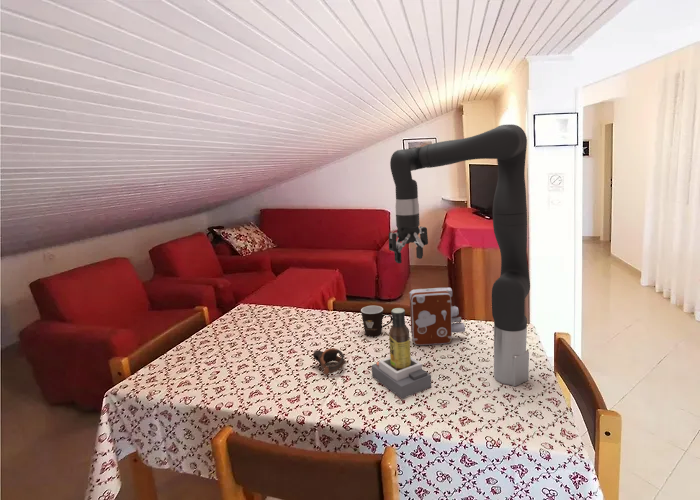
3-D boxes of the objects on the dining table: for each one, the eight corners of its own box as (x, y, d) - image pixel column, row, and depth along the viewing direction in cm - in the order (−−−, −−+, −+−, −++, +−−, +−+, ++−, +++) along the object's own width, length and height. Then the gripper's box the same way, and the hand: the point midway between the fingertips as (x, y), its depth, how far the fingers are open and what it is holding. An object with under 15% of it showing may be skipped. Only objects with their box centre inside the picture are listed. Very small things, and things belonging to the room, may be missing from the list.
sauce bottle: (391, 364, 143) (388, 305, 139) (411, 364, 142) (408, 305, 138) (390, 374, 137) (387, 313, 132) (410, 375, 136) (408, 313, 131)
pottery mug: (350, 363, 156) (350, 350, 150) (339, 386, 149) (338, 373, 143) (318, 352, 159) (317, 338, 153) (306, 374, 152) (305, 361, 147)
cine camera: (467, 344, 162) (467, 292, 157) (413, 347, 162) (411, 295, 158) (461, 334, 171) (461, 283, 166) (410, 337, 171) (408, 287, 167)
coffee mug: (357, 334, 177) (356, 310, 175) (373, 327, 183) (371, 304, 180) (379, 342, 169) (377, 317, 166) (394, 334, 174) (393, 310, 172)
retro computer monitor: (431, 386, 136) (430, 367, 135) (401, 398, 131) (400, 378, 130) (400, 366, 150) (399, 348, 148) (372, 376, 145) (371, 357, 143)
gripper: (396, 216, 139) (398, 267, 143) (432, 210, 146) (433, 258, 150) (382, 214, 145) (385, 262, 149) (417, 208, 152) (419, 254, 156)
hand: (409, 260), depth 149 cm, fingers open, 8 cm apart
